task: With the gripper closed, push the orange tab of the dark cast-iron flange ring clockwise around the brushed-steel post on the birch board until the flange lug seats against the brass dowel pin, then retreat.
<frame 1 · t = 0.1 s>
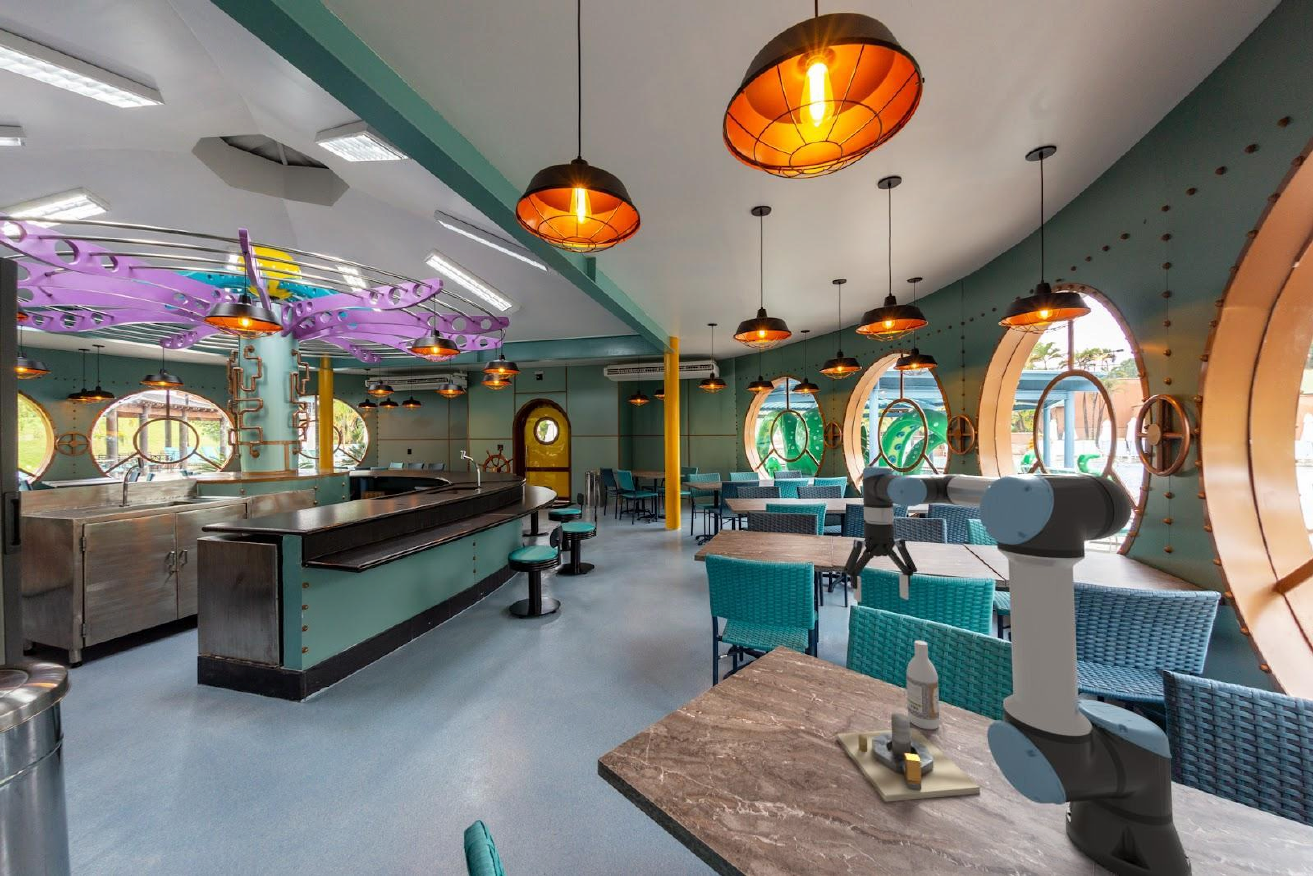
hand: (881, 599, 128), 28 cm above the table, fingers open, 13 cm apart
post base: (901, 763, 102), on the table
flange: (903, 750, 100), point 4 cm above the table, hinge at 160.0°
bath foam: (923, 723, 117), on the table
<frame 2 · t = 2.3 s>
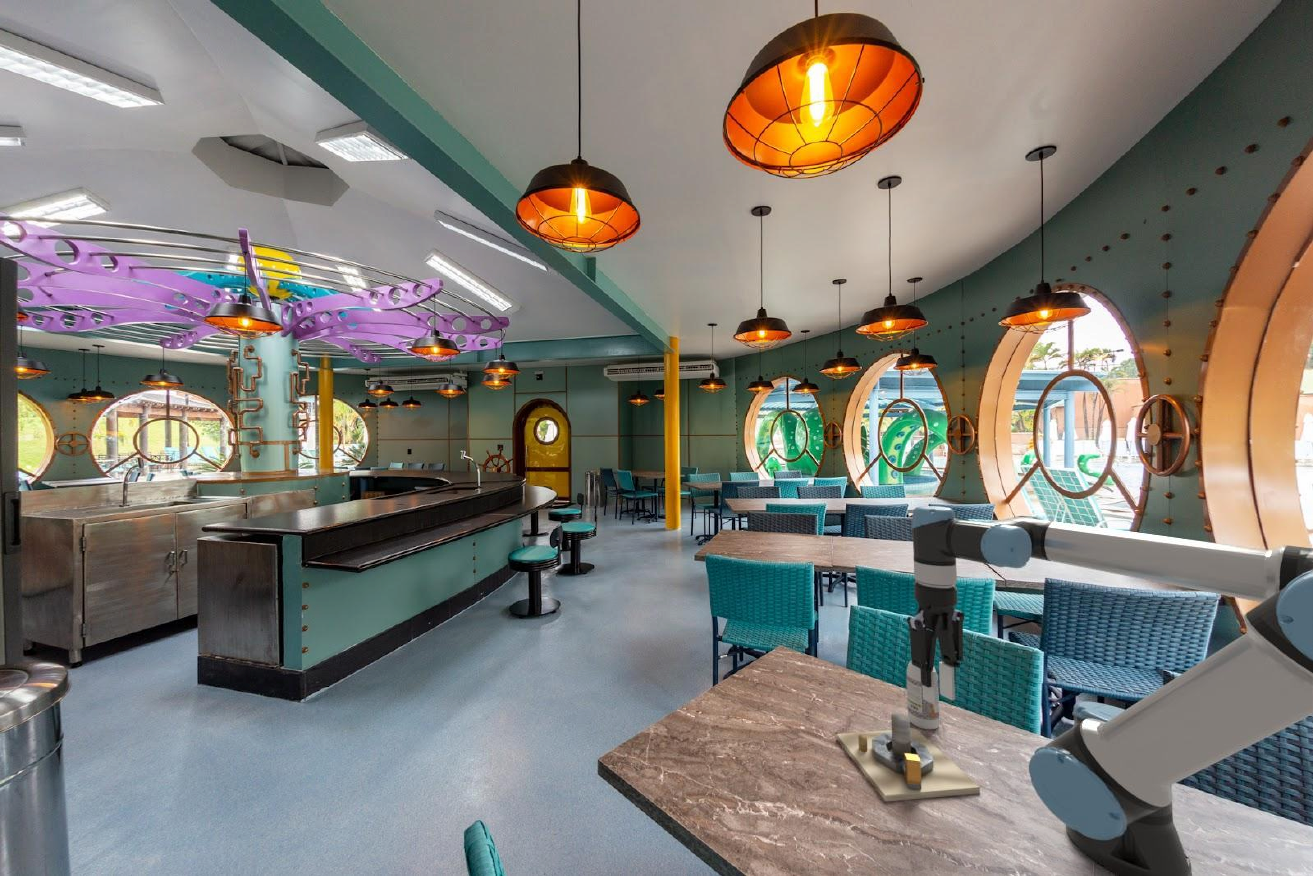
hand: (938, 699, 94), 19 cm above the table, fingers open, 4 cm apart
nothing on the table moved.
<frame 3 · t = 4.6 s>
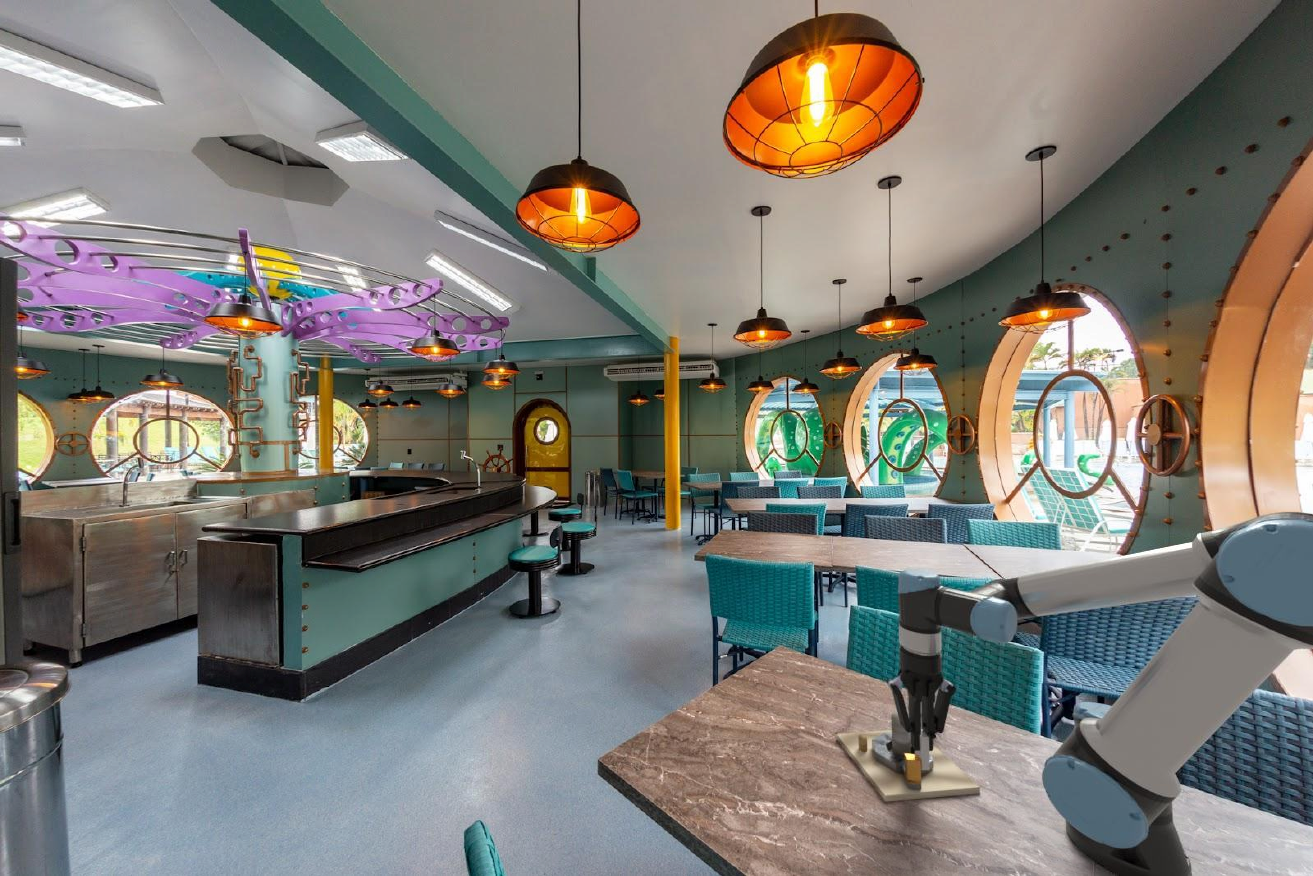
hand: (922, 765, 94), 5 cm above the table, fingers closed
flange: (903, 750, 100), point 4 cm above the table, hinge at 160.0°, touching gripper
everything else where it was.
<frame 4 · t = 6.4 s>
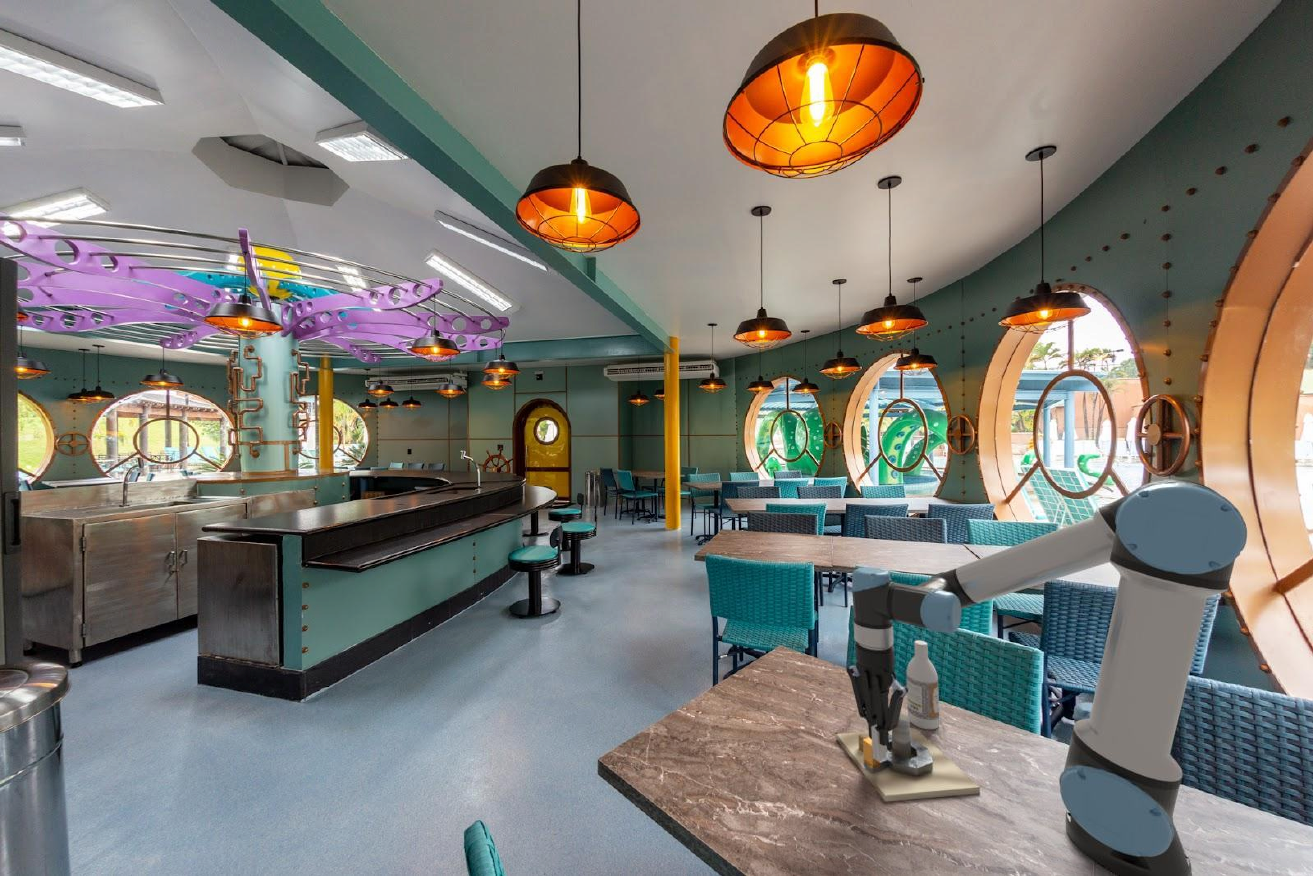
hand: (879, 757, 97), 5 cm above the table, fingers closed
flange: (894, 746, 101), point 4 cm above the table, hinge at 107.8°, touching gripper
everything else where it was.
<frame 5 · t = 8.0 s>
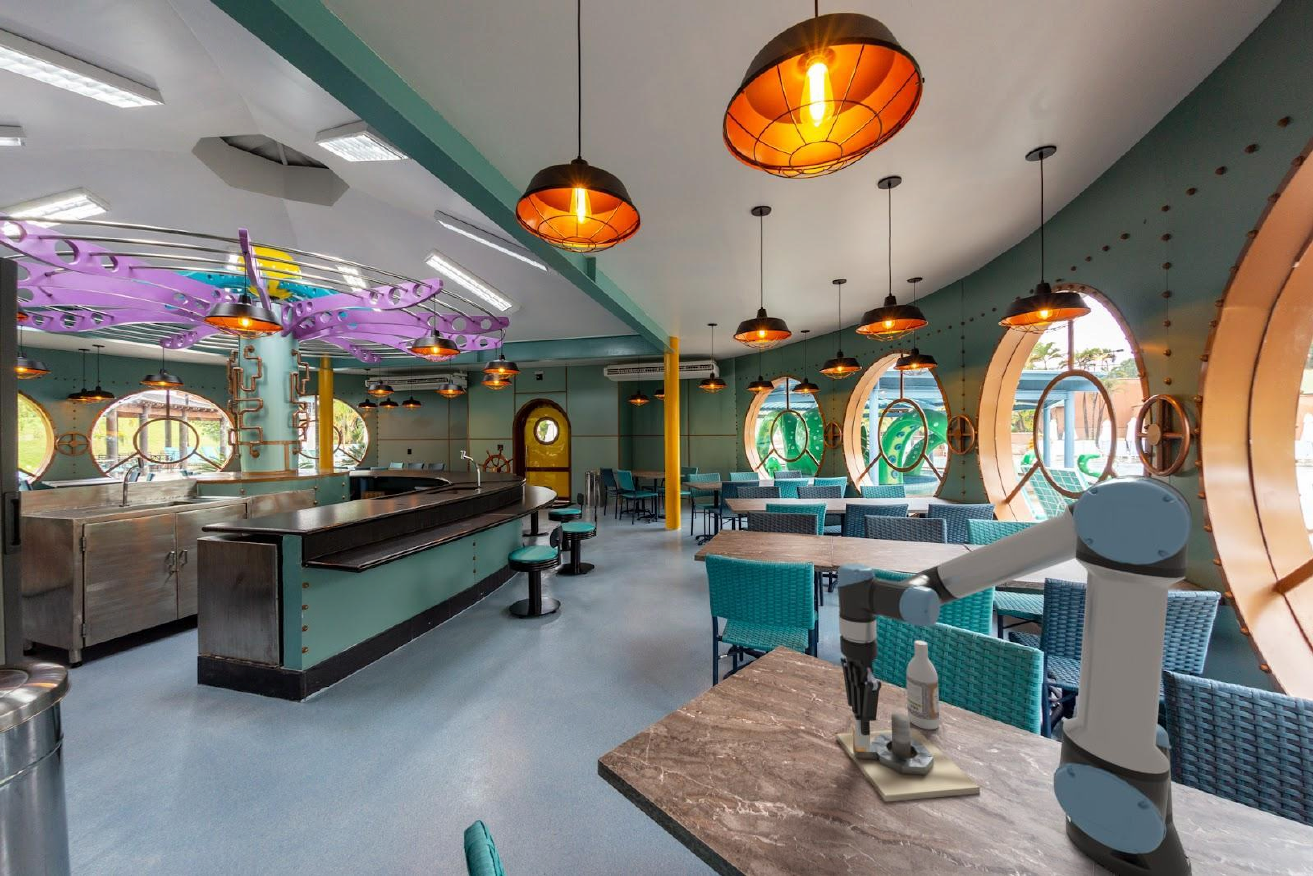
hand: (862, 746, 101), 5 cm above the table, fingers closed
flange: (891, 743, 102), point 4 cm above the table, hinge at 80.3°, touching gripper
everything else where it was.
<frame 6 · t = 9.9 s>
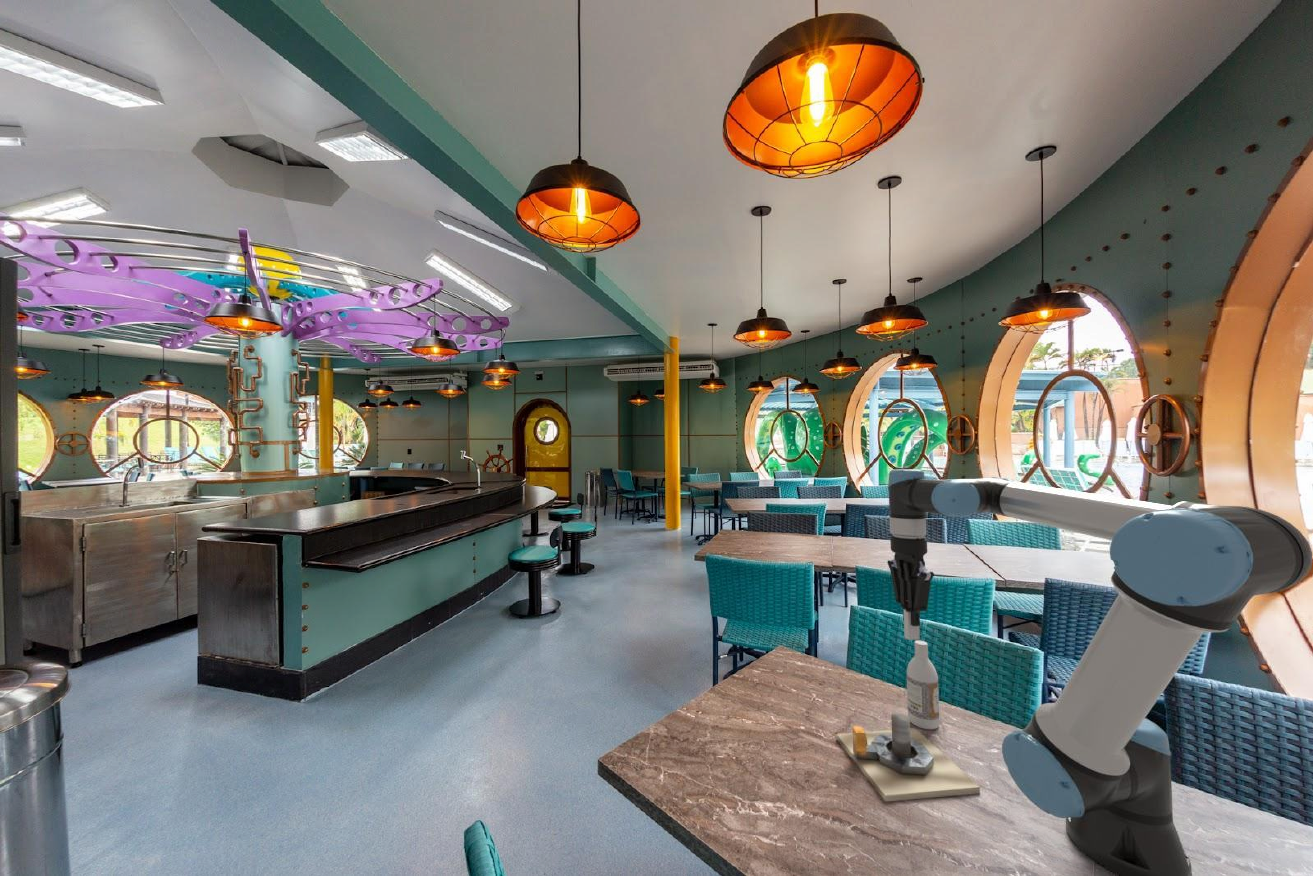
hand: (912, 638, 107), 26 cm above the table, fingers closed
flange: (891, 743, 102), point 4 cm above the table, hinge at 80.3°
everything else where it was.
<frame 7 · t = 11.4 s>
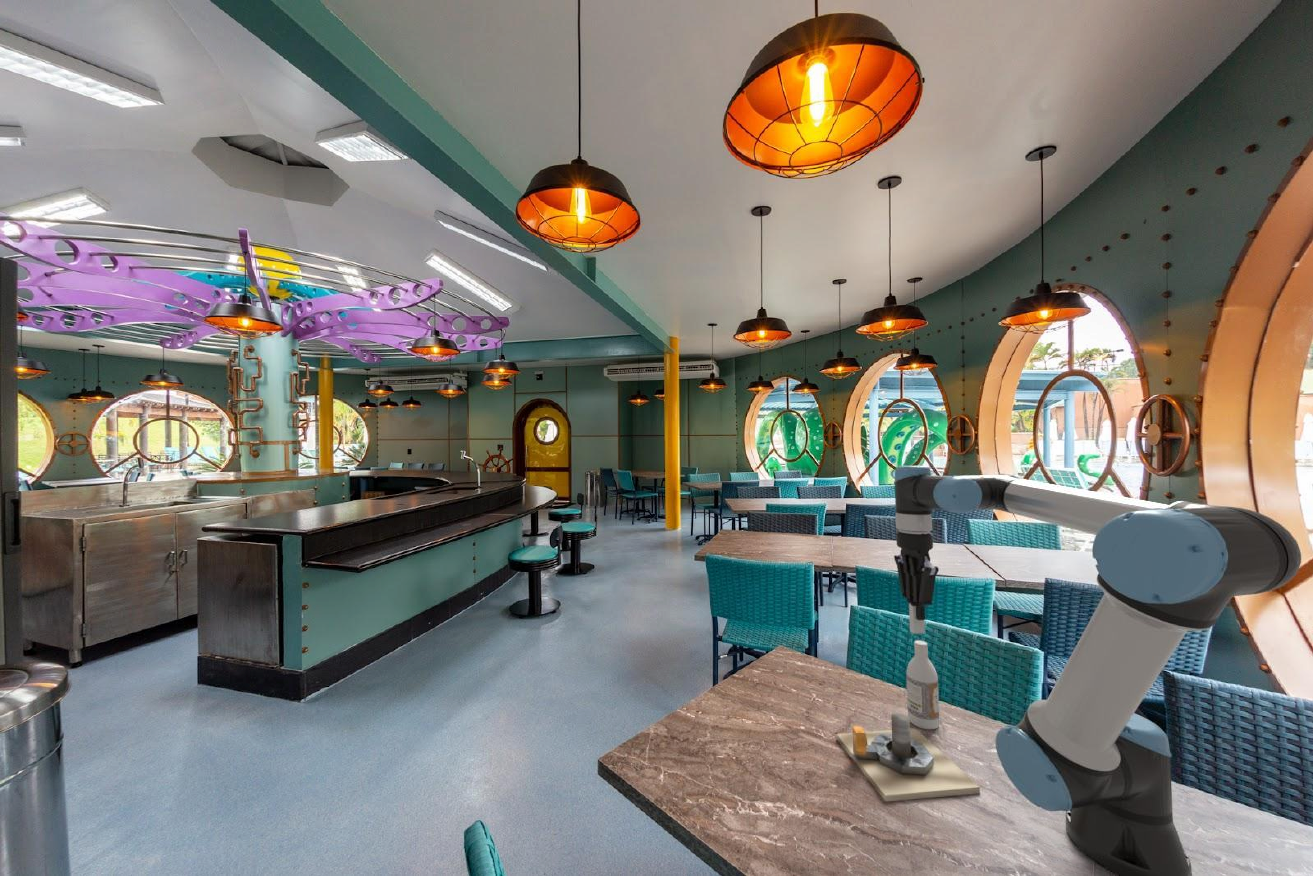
hand: (917, 632, 108), 26 cm above the table, fingers closed
nothing on the table moved.
at the end: flange at +80° (first picture: +160°) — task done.
